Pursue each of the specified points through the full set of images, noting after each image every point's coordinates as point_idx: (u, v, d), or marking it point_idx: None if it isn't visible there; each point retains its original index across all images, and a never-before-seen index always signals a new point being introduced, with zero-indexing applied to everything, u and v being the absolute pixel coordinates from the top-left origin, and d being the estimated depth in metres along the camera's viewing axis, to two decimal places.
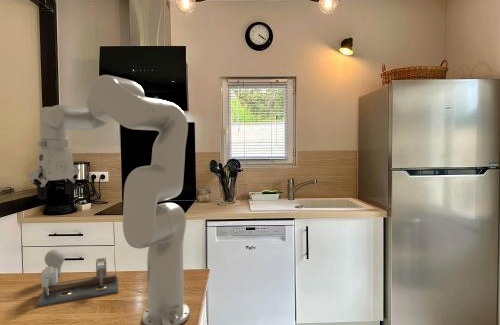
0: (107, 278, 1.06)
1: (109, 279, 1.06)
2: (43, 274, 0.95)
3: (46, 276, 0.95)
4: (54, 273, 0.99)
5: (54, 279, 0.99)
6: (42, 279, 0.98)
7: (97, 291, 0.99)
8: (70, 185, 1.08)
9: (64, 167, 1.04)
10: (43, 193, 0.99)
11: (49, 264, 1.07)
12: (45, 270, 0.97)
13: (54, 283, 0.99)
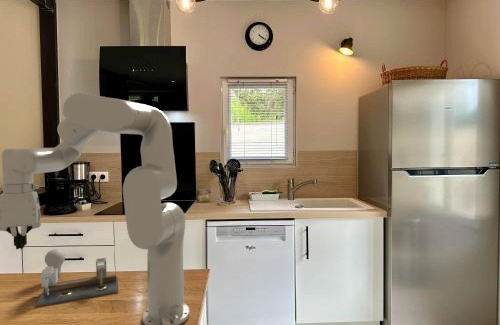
0: (107, 278, 1.06)
1: (109, 279, 1.06)
2: (43, 274, 0.95)
3: (46, 276, 0.95)
4: (54, 273, 0.99)
5: (54, 279, 0.99)
6: (42, 279, 0.98)
7: (97, 291, 0.99)
8: None
9: None
10: None
11: (49, 264, 1.07)
12: (45, 270, 0.97)
13: (54, 283, 0.99)
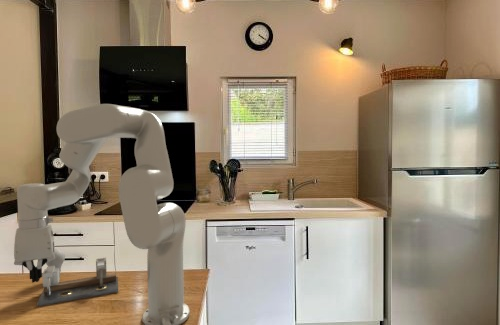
0: (107, 278, 1.06)
1: (109, 279, 1.06)
2: (45, 274, 0.95)
3: (48, 276, 0.95)
4: (56, 273, 0.99)
5: (56, 279, 0.99)
6: (44, 279, 0.98)
7: (97, 291, 0.99)
8: None
9: None
10: None
11: (49, 264, 1.07)
12: (47, 270, 0.97)
13: (56, 283, 0.99)
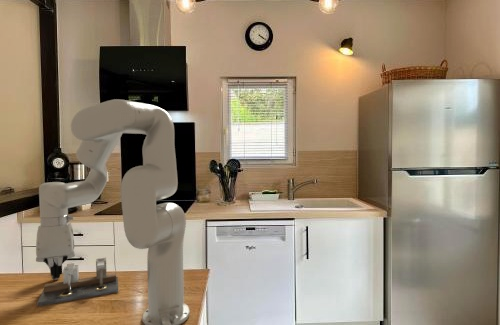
0: (107, 278, 1.06)
1: (109, 279, 1.06)
2: (66, 271, 0.97)
3: (69, 273, 0.97)
4: (76, 270, 1.01)
5: (76, 276, 1.01)
6: (64, 276, 1.00)
7: (97, 291, 0.99)
8: (56, 266, 1.02)
9: None
10: None
11: None
12: (67, 267, 1.00)
13: (76, 280, 1.02)
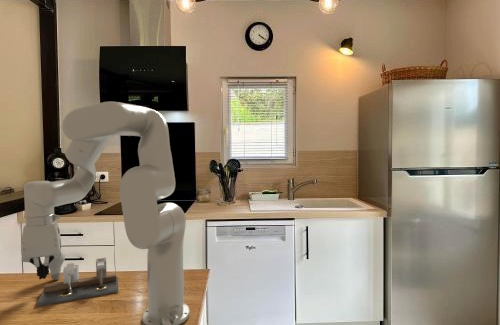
0: (107, 278, 1.06)
1: (109, 279, 1.06)
2: (66, 271, 0.97)
3: (69, 273, 0.97)
4: (76, 270, 1.01)
5: (76, 276, 1.01)
6: (64, 276, 1.00)
7: (97, 291, 0.99)
8: None
9: None
10: None
11: (49, 264, 1.07)
12: (67, 267, 1.00)
13: (76, 280, 1.02)
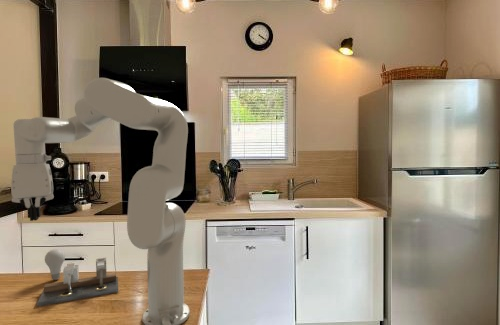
0: (107, 278, 1.06)
1: (109, 279, 1.06)
2: (66, 271, 0.97)
3: (69, 273, 0.97)
4: (76, 270, 1.01)
5: (76, 276, 1.01)
6: (64, 276, 1.00)
7: (97, 291, 0.99)
8: None
9: None
10: None
11: (49, 264, 1.07)
12: (67, 267, 1.00)
13: (76, 280, 1.02)
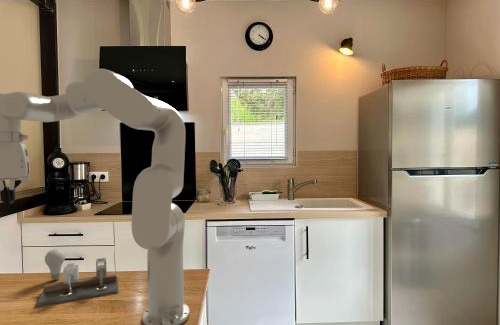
0: (107, 278, 1.06)
1: (109, 279, 1.06)
2: (66, 271, 0.97)
3: (69, 273, 0.97)
4: (76, 270, 1.01)
5: (76, 276, 1.01)
6: (64, 276, 1.00)
7: (97, 291, 0.99)
8: None
9: None
10: None
11: (49, 264, 1.07)
12: (67, 267, 1.00)
13: (76, 280, 1.02)
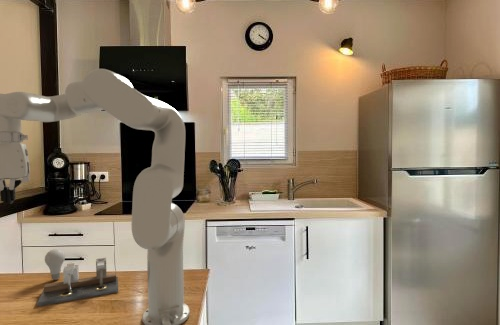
0: (107, 278, 1.06)
1: (109, 279, 1.06)
2: (66, 271, 0.97)
3: (69, 273, 0.97)
4: (76, 270, 1.01)
5: (76, 276, 1.01)
6: (64, 276, 1.00)
7: (97, 291, 0.99)
8: None
9: None
10: None
11: (49, 264, 1.07)
12: (67, 267, 1.00)
13: (76, 280, 1.02)
